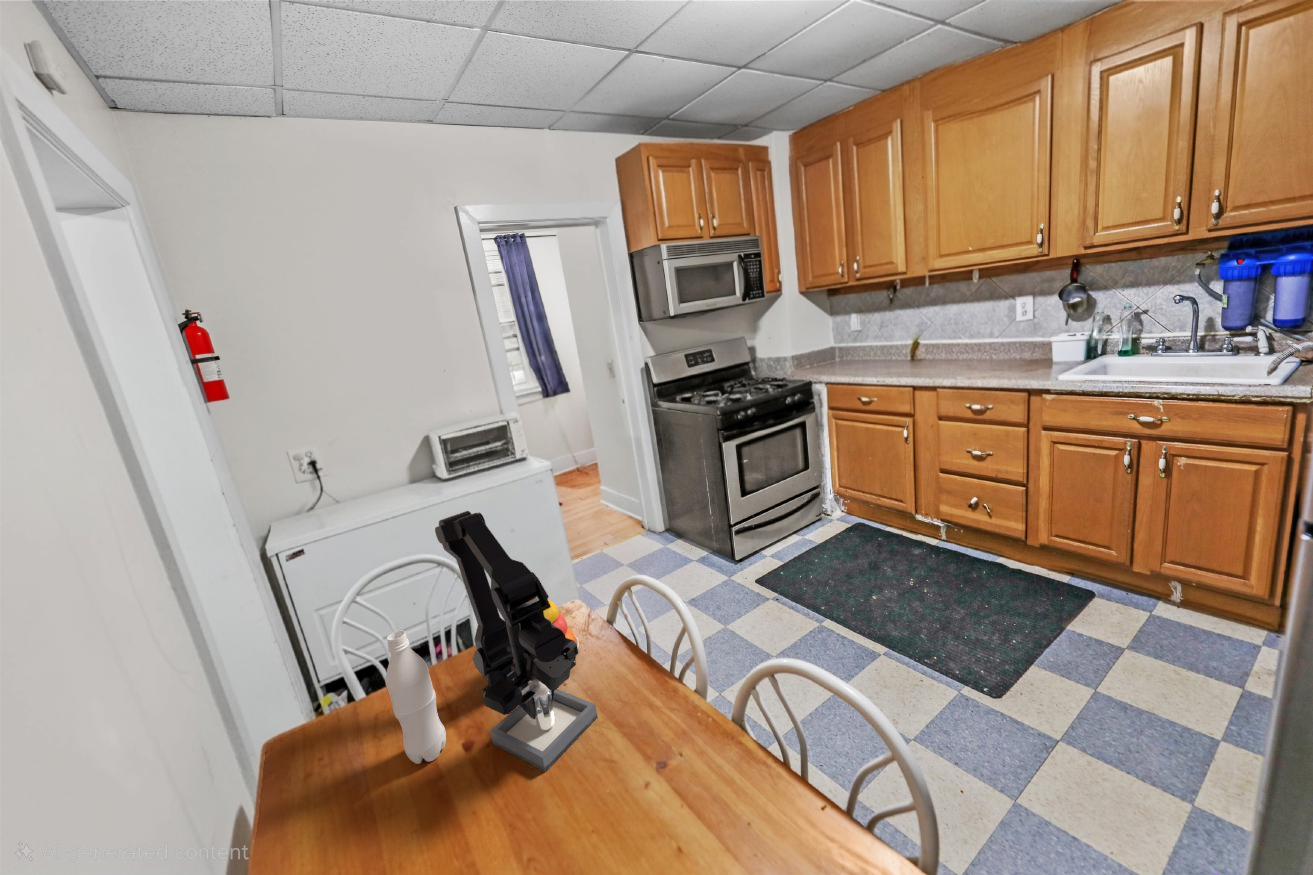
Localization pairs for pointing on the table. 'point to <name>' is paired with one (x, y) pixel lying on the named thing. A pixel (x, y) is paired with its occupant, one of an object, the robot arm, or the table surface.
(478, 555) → the robot arm
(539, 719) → the milkshake
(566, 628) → the stacking toy
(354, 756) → the table surface
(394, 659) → the water bottle
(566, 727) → the gray square tray
